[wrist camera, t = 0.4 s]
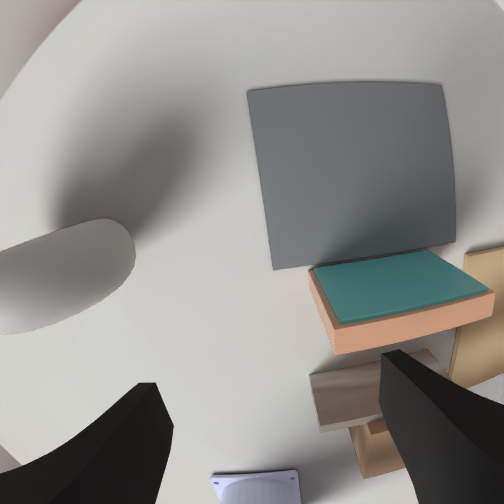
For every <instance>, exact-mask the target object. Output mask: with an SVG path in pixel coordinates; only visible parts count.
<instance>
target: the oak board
mask: <svg viewBox="0 0 504 504" xmlns="http://www.w3.org/2000/svg"><path fill="white" fill-rule="evenodd" d="M464 272H465V273H466V274H468V275H470V276H471V277H473V278H474V279H476V280H478V281H479V282H481V283H482V284H484V285H485V286H487V287H488V288H490V289H491V290H493V291H494V292H496V293H495V300H494V306H493V312H492V316H489V317H486V318H483V319H480V320H477V321H474V322H471V323H468V324H464V325H461V326H458V327H457V332H456V338H455V344H454V349H453V354H452V359H451V364H450V369H449V373H448V375H449V377H450V378H451V379H452V380H453V382H454V383H456V384H457V385H459V386H461V387H463V388H465V389H466V388H469V387H471V386H474V385H476V384H478V383H481V382H483V381H486V380H488V379H490V378H493V377H495V376H497V375H499V374H501V373H504V246H502V247H497V248H492V249H487V250H482V251H477V252H472V253H467V254H465V256H464Z"/></svg>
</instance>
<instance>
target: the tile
mask: <svg viewBox="0 0 504 504" xmlns="http://www.w3.org/2000/svg"><path fill="white" fill-rule="evenodd" d="M308 275H309V286H310V291H311V294H312V296H313V299H314V301H315V304H316V307H317V309H318V312H319V314H320V317H321V319H322V322H323V325H324V327H325V330H326V333H327V335H328V338H329V340H330V343H331V346H332V348H333V351H334V354H335V355H340V354H345V353H351V352H356V351H361V350H366V349H371V348H375V347H380V346H384V345H389V344H393V343H398V342H402V341H406V340H410V339H414V338H418V337H422V336H426V335H430V334H433V333H437V332H441V331H444V330H448V329H451V328H454V327H458V326H461V325H464V324H468V323H471V322H474V321H477V320H480V319H483V318H486V317H489V316H492V312H493V306H494V300H495V293H496V292H494V291H493V290H491V289H490V288H488V287H487V286H485V285H484V284H482V283H481V282H479V281H478V280H476V279H474V278H473V277H471V276H470V275H468V274H466V273H465V272H463V271H462V270H460V269H458V268H457V267H455V266H453V265H452V264H450V263H448V262H447V261H445V260H443V259H442V258H440V257H438V256H437V255H435V254H433V253H431V252H430V251H428V250H425V251H419V252H413V253H407V254H401V255H395V256H389V257H383V258H376V259H370V260H364V261H357V262H351V263H344V264H338V265H331V266H324V267H317V268H314V270H309V271H308Z"/></svg>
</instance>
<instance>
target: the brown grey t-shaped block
mask: <svg viewBox="0 0 504 504" xmlns="http://www.w3.org/2000/svg"><path fill="white" fill-rule="evenodd" d="M408 355H410V356H411V357H413V358H414V359H416V360H417V361H419V362H421V363H422V364H424V365H425V366H427V367H428V368H430V369H432V370H433V371H435V372H437V373H438V374H440V375H442V376H443V377H445V378H447V379H448V380H450V381H452V382H453V380H452V379H451V378H450V377H449V375H448V374H447V373H446V371H445V370H444V369H443V368H442V366H441V365H440V364H439V363H438V361H437V360H436V359H435V358H434V356H433V355H432V354H431V353H430V351H429V350H428V349H427V350H423V351H419V352H416V353H412V354H408ZM380 375H381V361H379V362H374V363H370V364H365V365H360V366H355V367H350V368H345V369H340V370H334V371H329V372H323V373H317V374H310V375H309V382H310V387H311V391H312V396H313V401H314V405H315V410H316V415H317V420H318V425H319V429H320V433H321V432H327V431H332V430H338V429H343V428H349V431H350V435H351V438H352V441H353V445H354V448H355V451H356V455H357V458H358V462H359V465H360V469H361V472H362V476H363V479H365V478H370V477H373V476H377V475H381V474H385V473H388V472H392V471H395V470H399V469H402V468H405V464H404V462H403V460H402V458H401V456H400V454H399V452H398V449H397V447H396V445H395V443H394V441H393V439H392V437H391V435H390V433H389V430H388V428H387V426H386V423H385V420H384V417H383V414H382V411H381V408H380V404H379V401H378V399H379V388H380Z"/></svg>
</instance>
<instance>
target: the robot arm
mask: <svg viewBox="0 0 504 504" xmlns="http://www.w3.org/2000/svg"><path fill="white" fill-rule="evenodd" d="M378 401H379V404H380V408H381V411H382V414H383V417H384V420H385V423H386V426H387V428H388V430H389V433H390V435H391V437H392V439H393V441H394V443H395V445H396V447H397V449H398V452H399V454H400V456H401V458H402V460H403V462H404V464H405V467H406V469H407V471H408V473H409V475H410V478H411V480H412V483H413V485H414V489H415V492H416V495H417V499H418V502H419V504H504V405H503V404H500V403H497V402H495V401H492V400H490V399H487V398H484V397H482V396H480V395H478V394H475V393H473V392H471V391H469V390H467V389H465V388H463V387H461V386H459V385H457V384H456V383H454V382H452V381H450V380H448V379H447V378H445V377H443V376H442V375H440V374H438V373H437V372H435V371H433V370H432V369H430V368H428V367H427V366H425V365H424V364H422V363H421V362H419V361H417V360H416V359H414V358H413V357H411V356H410V355H408V354H406V353H405V352H403V351H401V350H400V349H399V350H395V351H391V352H386V353H382V360H381V375H380V388H379V399H378ZM173 428H174V425H173V423H172V421H171V418H170V416H169V414H168V411H167V409H166V407H165V404H164V402H163V400H162V397H161V395H160V392H159V390H158V387H157V385H156V383H138V384H137V385H136V386H134V387H133V388H132V389H131V390H130V391H128V392H127V393H126V394H125V395H124V396H123V397H122V398H120V399H119V400H118V401H117V402H116V403H115V404H114V405H113V406H111V407H110V408H109V409H108V410H107V411H106V412H105V413H103V414H102V415H101V416H100V417H99V418H98V419H96V420H95V421H94V422H93V423H91V424H90V425H89V426H88V427H86V428H85V429H84V430H82V431H81V432H80V433H79V434H77V435H76V436H75V437H73V438H72V439H70V440H69V441H68V442H66V443H65V444H63V445H61V446H60V447H58V448H56V449H55V450H53V451H52V452H50V453H48V454H46V455H44V456H42V457H40V458H38V459H36V460H34V461H32V462H30V463H28V464H26V465H23V466H21V467H18V468H16V469H13V470H10V471H7V472H4V473H1V474H0V504H155V502H156V499H157V495H158V492H159V488H160V485H161V482H162V478H163V475H164V471H165V468H166V464H167V461H168V457H169V454H170V450H171V443H172V436H173ZM210 481H211V483H212V485H213V487H214V489H215V491H216V493H217V495H218V497H219V499H220V501H221V502H220V504H301V499H300V490H299V480H298V472H297V471H296V470H289V471H280V472H269V473H256V474H237V475H212V476H210Z"/></svg>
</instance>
